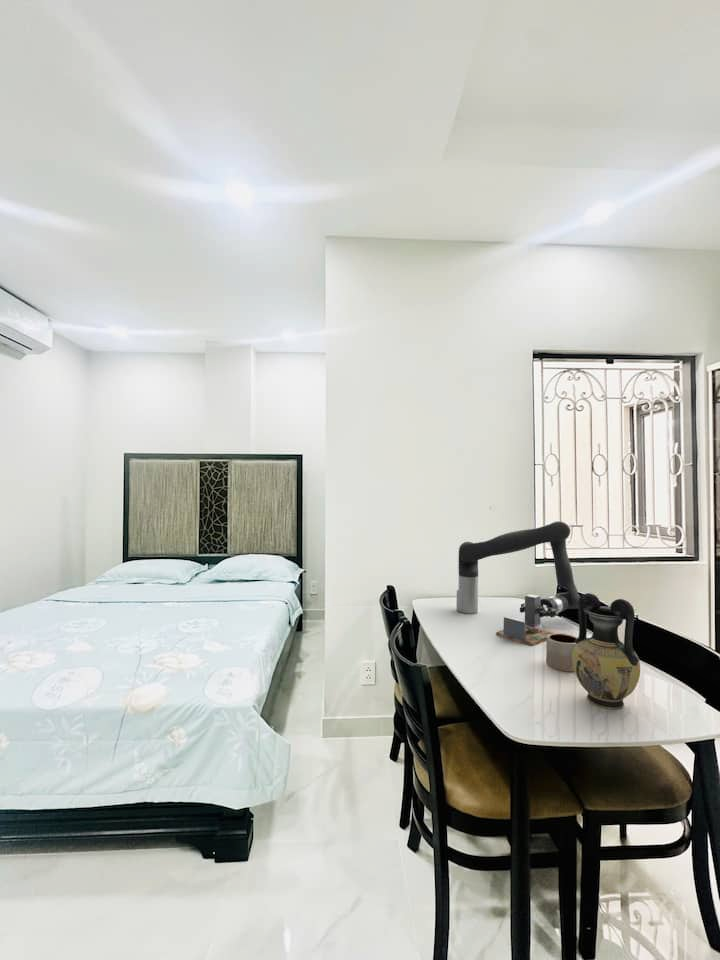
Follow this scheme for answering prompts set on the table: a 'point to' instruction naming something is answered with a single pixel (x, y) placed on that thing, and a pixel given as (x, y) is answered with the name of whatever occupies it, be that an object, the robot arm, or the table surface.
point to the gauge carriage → (532, 613)
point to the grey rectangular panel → (515, 628)
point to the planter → (560, 651)
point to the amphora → (606, 652)
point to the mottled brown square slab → (528, 637)
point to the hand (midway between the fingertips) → (530, 612)
